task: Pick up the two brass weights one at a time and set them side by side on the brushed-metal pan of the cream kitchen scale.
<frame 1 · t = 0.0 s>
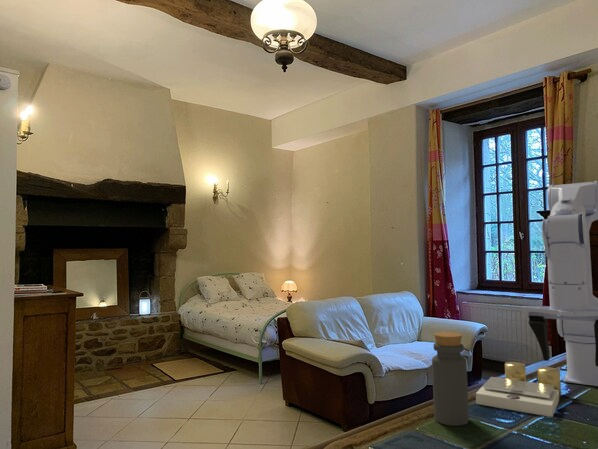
hand: (571, 362, 78), 10 cm above the table, tool pointing down, fingers open, 7 cm apart
weight b: (549, 394, 92), on the table
scale pan: (518, 386, 89), point 3 cm above the table, slide at -0.2 cm
weight a: (516, 387, 96), on the table
bottle: (451, 420, 80), on the table
scale: (517, 402, 87), on the table
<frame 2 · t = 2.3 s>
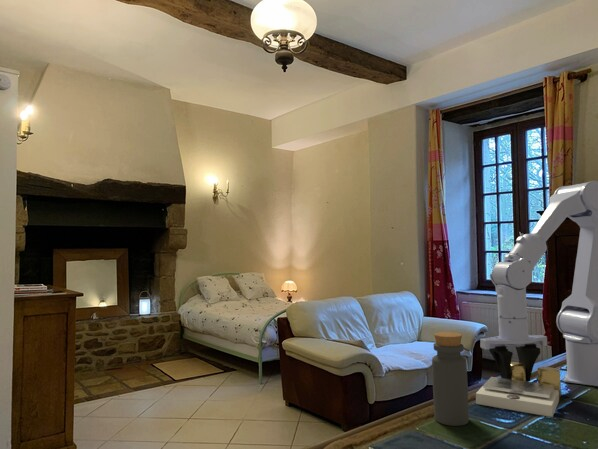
hand: (515, 381, 96), 1 cm above the table, tool pointing down, fingers closed on weight a, 4 cm apart
weight a: (516, 387, 96), on the table, touching gripper
everything else where it was.
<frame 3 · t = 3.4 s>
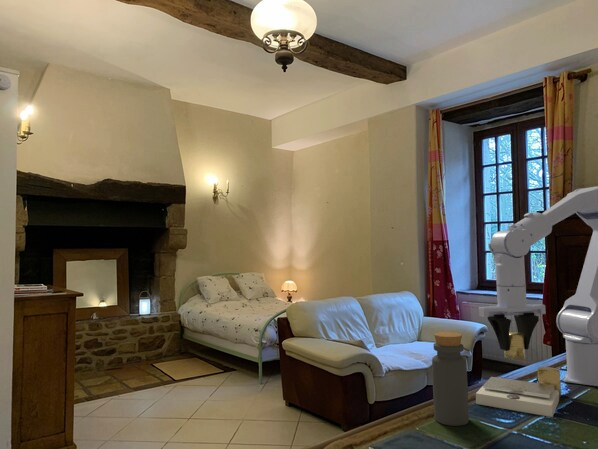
hand: (514, 349, 97), 8 cm above the table, tool pointing down, fingers closed on weight a, 4 cm apart
weight a: (514, 357, 97), point 6 cm above the table, touching gripper
everything else where it was.
when the fingers open (6 cm above the table, at t = 4.9 s): weight a drops 1 cm, resting on scale pan.
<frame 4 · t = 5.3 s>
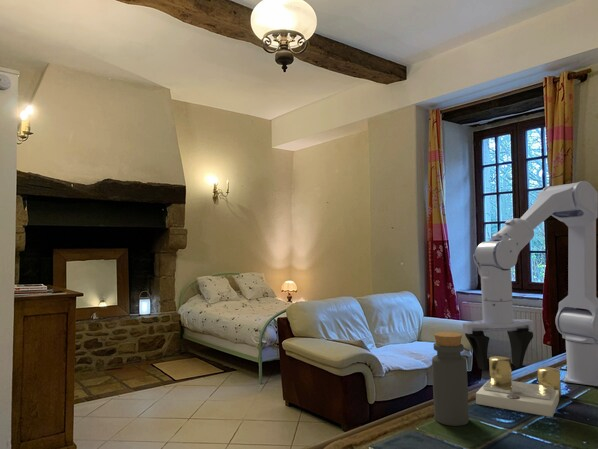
hand: (500, 367, 91), 6 cm above the table, tool pointing down, fingers open, 7 cm apart
scale pan: (518, 388, 89), point 2 cm above the table, slide at -0.5 cm, touching weight a
weight a: (501, 383, 91), point 3 cm above the table, touching scale pan
everything else where it was.
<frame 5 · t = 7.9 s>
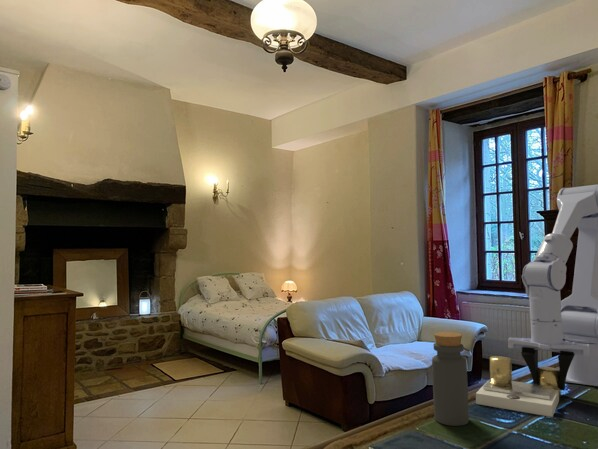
hand: (549, 387, 92), 1 cm above the table, tool pointing down, fingers closed on weight b, 4 cm apart
weight b: (549, 394, 92), on the table, touching gripper
everything else where it was.
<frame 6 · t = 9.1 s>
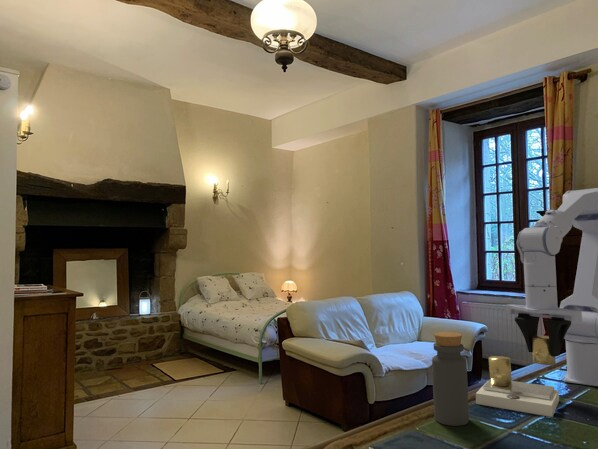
hand: (543, 353, 91), 9 cm above the table, tool pointing down, fingers closed on weight b, 4 cm apart
weight b: (544, 362, 91), point 7 cm above the table, touching gripper
everything else where it was.
when the fingers open (6 cm above the table, at t = 10.2 s): weight b drops 1 cm, resting on scale pan.
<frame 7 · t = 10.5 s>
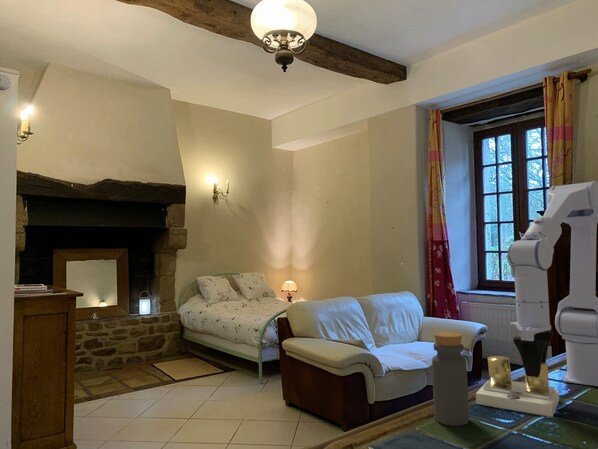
hand: (535, 372, 87), 6 cm above the table, tool pointing down, fingers open, 6 cm apart
weight b: (537, 389, 87), point 3 cm above the table, touching scale pan
scale pan: (518, 388, 89), point 2 cm above the table, slide at -0.5 cm, touching scale, weight a, weight b
everything else where it was.
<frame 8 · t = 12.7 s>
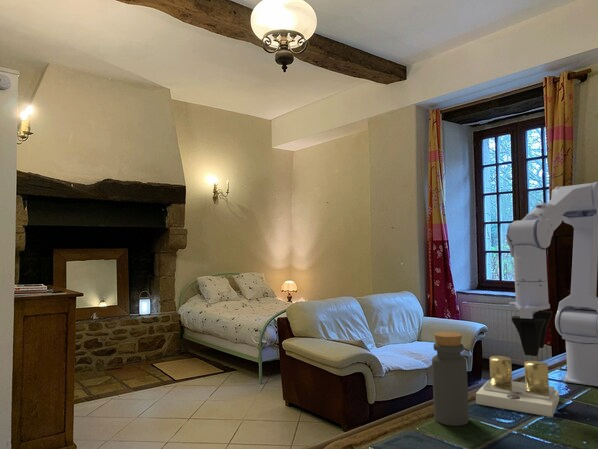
hand: (534, 351, 87), 10 cm above the table, tool pointing down, fingers open, 7 cm apart
nothing on the table moved.
at the end: weight a 0.2 cm from the target spot on the scale, point 2.7 cm above the scale's base; weight b 0.1 cm from the target spot on the scale, point 2.6 cm above the scale's base; the gripper is holding nothing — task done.
